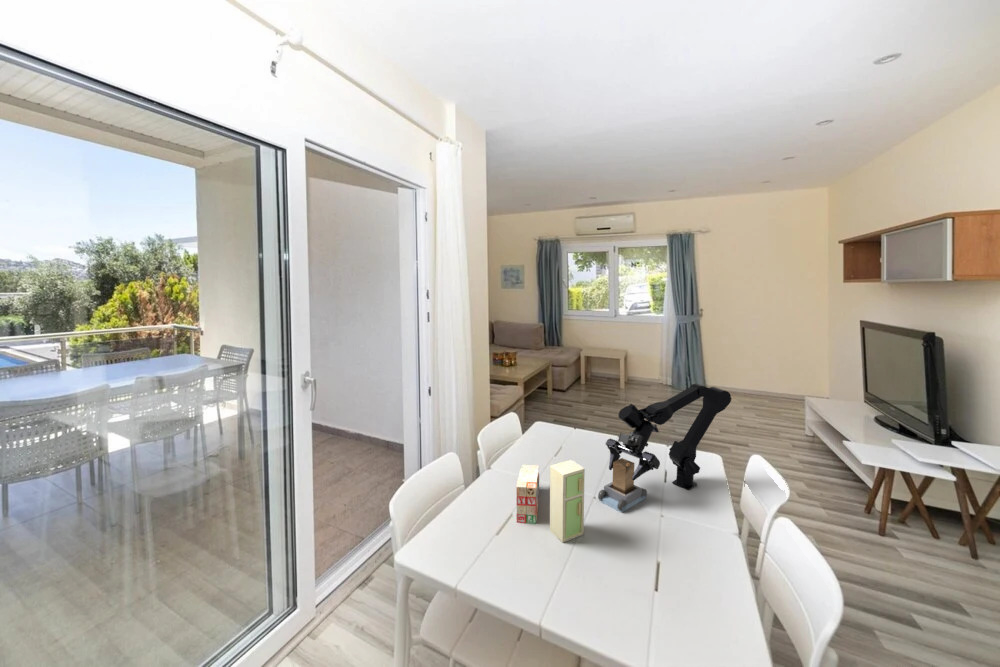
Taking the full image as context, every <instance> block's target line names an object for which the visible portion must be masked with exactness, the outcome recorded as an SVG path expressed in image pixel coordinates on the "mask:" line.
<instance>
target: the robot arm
mask: <svg viewBox="0 0 1000 667" xmlns="http://www.w3.org/2000/svg"><path fill="white" fill-rule="evenodd" d="M700 398H702V408H701V409H700V411H699V413H698V414H697V416H696V417H695V419H694V421H693V422H692V424H691V426H690V427H689V429H688V431H687V433H686V434H685V436H684V438H682V440H680V441H677V440H674V442H673V444H672V445H671V447H670V448H668V449H669V453H668V456H669V459H670V460H671V462H672V464H673V465H675V466H676V478H675V480H673V481H672V482H671V484H673V485H675V486H678V487H680V488H683V489H684V490H688V491H690V490H691V489H693V488H695V487H696V486H697V485H698V483H697V482H695V481H694V478H695V477H694V476H695V475H696V474H699V472H700V471H701V467H700V465H698V464H697V463H696V462H695V460H696V458H697V447H698V445H699V444H700V442H701V440H702V439H703V437H704V435H705V434H706V432H707V431H708V428H709V427H710V426H711V424H712V422H713V421H714V419H715V417H716V416H717V415H718V414H719V413H721V412H722V411H725V410H726V408H727V407H728V406H729V405H730V404H731V402H732V396H731V393H730V392H729V391H727V390H725V389H722V388H720V387H716V386H711V387H707V386H704V385H702V384H699V383H693V384H691V386H689V387H688V388H685V389H684V390H682V391H681V392H679V393H677V394H675V395H674V396H672V397H670V398H668V399H667V400H663V401H657V402H654V403H650V404H648V406H646V407H643V408H641V409H638V408H637V406H636V405H634V404H632V403H629V405H626V406H624V407H621V409H620V410H619V412H618V418H619V419H620V420H621V421H622V422H624V424H625V425H626V426H627V427H629V428H630V429H633V431H632V432H631V431H630V432H629V433H628V434H626V433H623V432H620V433H619V436H618V440H615V439H613V438H609V439H606V441H605V444H604V445H605V446H607V449H608V450H609V464H608V469H609V471H613V462H614V461H616V460H619V459H621V455H620V454H622V453H624V454H627V455H629V456H632V457H634V458H637V459H639V460H638V465H637V467H636V469H634V474H633V477H632V480H634V481H635V480H637V479H638V478H640V477H641V476H642V475H644V474H646V473H647V472H649V471H651V470H652V471H654V469H655V470H659V467H660V465H661V462H660V460H659V458H658V457H657V456H656V455H655V454H654V453H651V452H649V451H646V450H645V448H647V447H648V446H649V442H648V441H649V440H650V437H651V436H652V434H653V433H659V428H658V427H657V426H658V425H660V426H661V425H664V424H666V423H667V422H668V421H669V420H671V419H672V417H673V415H674V414H675V413H676V412H678V411H680V410H682V409H683V408H685V407H686V406H688V405H690V404H691V403H693V402H695V401H697V400H699V399H700ZM622 445H623V446H622ZM644 450H645V451H644Z"/></svg>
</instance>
